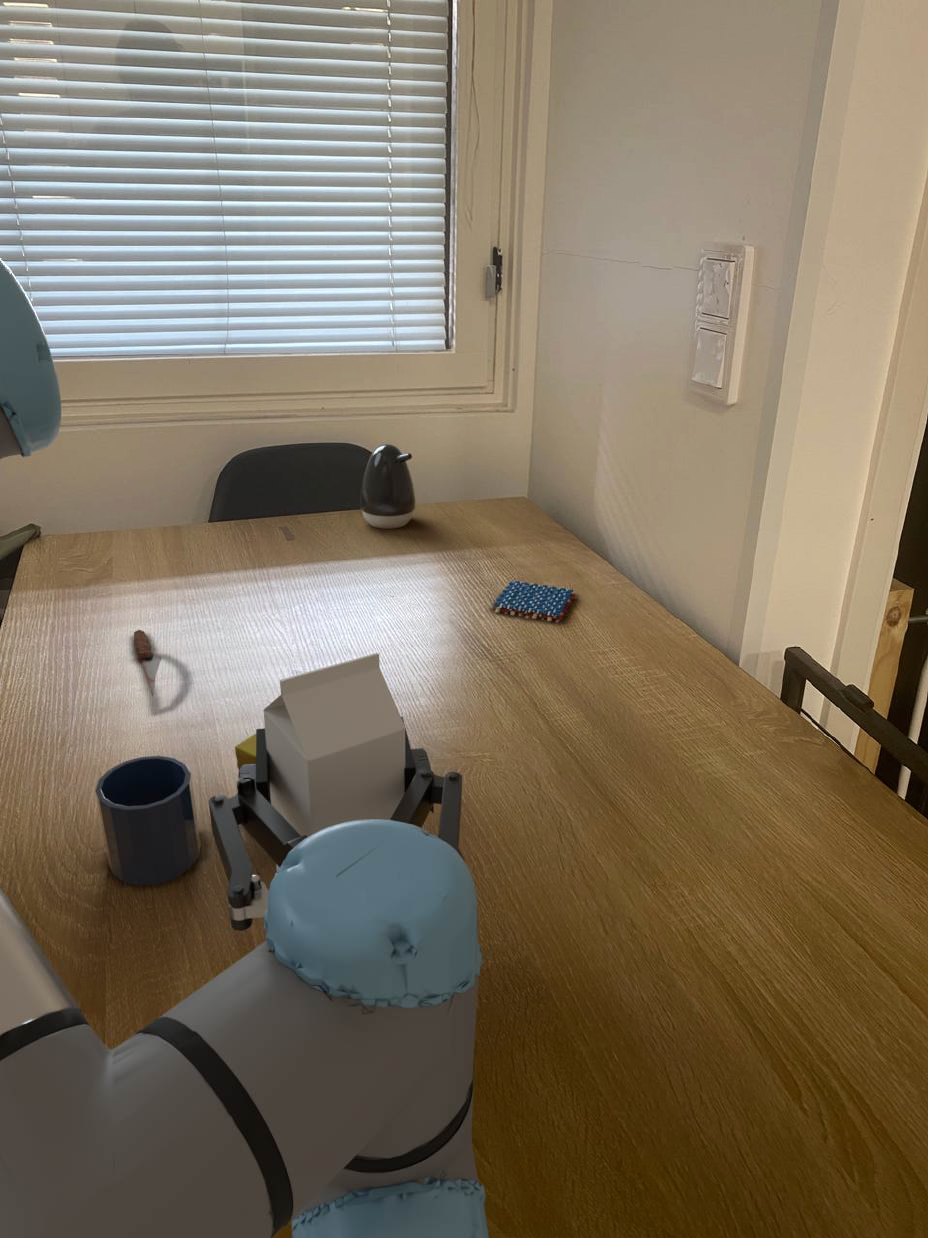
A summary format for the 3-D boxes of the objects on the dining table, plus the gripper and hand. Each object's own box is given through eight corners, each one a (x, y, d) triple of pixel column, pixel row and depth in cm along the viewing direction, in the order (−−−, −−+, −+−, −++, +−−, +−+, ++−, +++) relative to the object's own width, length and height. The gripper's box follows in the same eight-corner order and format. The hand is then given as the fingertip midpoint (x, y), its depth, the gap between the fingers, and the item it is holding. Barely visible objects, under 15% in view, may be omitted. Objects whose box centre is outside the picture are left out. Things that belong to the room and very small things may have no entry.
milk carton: (406, 900, 67) (405, 675, 58) (318, 940, 63) (304, 705, 55) (360, 846, 72) (353, 632, 64) (276, 880, 68) (258, 657, 60)
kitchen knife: (195, 704, 109) (151, 708, 107) (195, 716, 109) (151, 720, 107) (169, 626, 126) (131, 627, 123) (169, 636, 126) (131, 638, 124)
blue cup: (93, 881, 82) (76, 800, 78) (141, 826, 89) (128, 750, 85) (173, 897, 81) (160, 816, 77) (215, 840, 88) (206, 763, 84)
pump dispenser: (394, 539, 162) (393, 455, 155) (349, 527, 167) (346, 445, 160) (427, 523, 169) (427, 443, 163) (383, 512, 174) (381, 434, 168)
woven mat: (561, 628, 131) (562, 615, 130) (490, 616, 134) (491, 603, 133) (576, 599, 140) (577, 587, 139) (510, 589, 143) (511, 577, 142)
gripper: (149, 1058, 47) (183, 794, 67) (557, 998, 51) (474, 766, 71) (129, 950, 43) (171, 706, 63) (567, 895, 48) (477, 682, 67)
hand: (331, 738), depth 67 cm, fingers closed on milk carton, 9 cm apart
